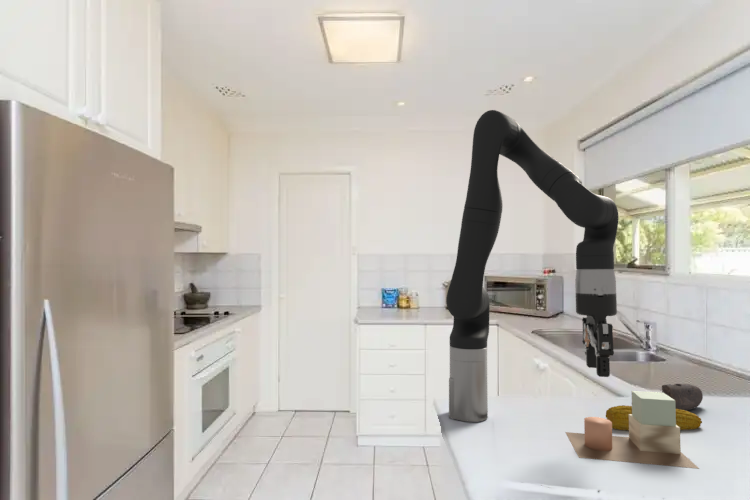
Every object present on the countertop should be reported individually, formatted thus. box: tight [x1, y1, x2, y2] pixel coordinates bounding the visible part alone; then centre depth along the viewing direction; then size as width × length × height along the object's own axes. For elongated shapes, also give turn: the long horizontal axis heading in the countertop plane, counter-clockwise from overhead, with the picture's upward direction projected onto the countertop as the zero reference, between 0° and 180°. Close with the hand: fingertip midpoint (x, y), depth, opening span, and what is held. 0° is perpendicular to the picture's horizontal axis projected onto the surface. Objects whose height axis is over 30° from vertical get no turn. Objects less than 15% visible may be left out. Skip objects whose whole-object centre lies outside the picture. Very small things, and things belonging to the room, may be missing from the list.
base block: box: [628, 414, 681, 454], centre depth 92 cm, size 7×7×5 cm
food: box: [605, 404, 703, 431], centre depth 103 cm, size 21×6×6 cm, turn 93°
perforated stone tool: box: [661, 383, 704, 411], centre depth 120 cm, size 15×5×7 cm, turn 112°
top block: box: [631, 390, 676, 427], centre depth 92 cm, size 6×6×5 cm
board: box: [565, 431, 700, 469], centre depth 90 cm, size 20×14×1 cm
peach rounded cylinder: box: [583, 416, 613, 451], centre depth 91 cm, size 5×5×5 cm
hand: (597, 371), depth 92 cm, fingers open, 8 cm apart
